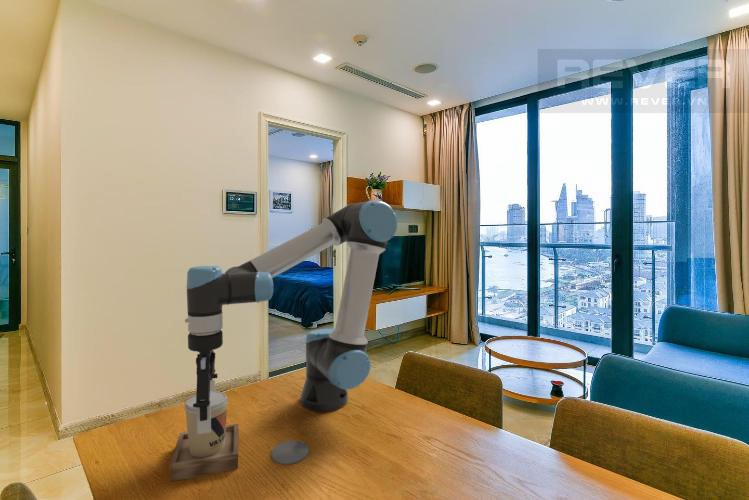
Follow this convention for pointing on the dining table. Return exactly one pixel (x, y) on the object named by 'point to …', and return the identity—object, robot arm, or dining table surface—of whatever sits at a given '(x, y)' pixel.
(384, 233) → the robot arm
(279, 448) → the slate coaster
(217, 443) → the coffee cup
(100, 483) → the dining table surface
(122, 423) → the dining table surface
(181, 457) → the square wooden tray
